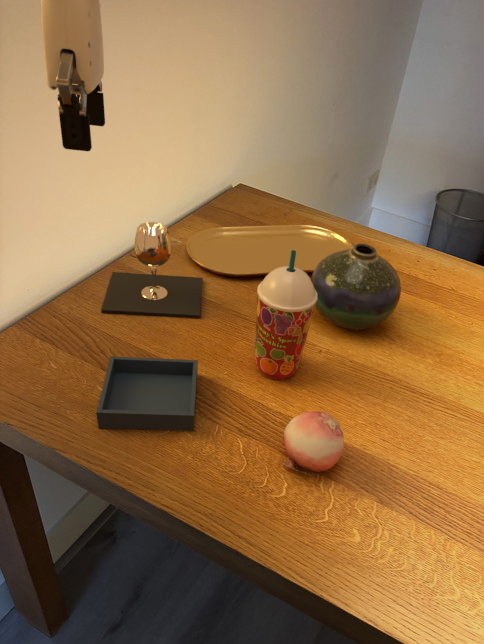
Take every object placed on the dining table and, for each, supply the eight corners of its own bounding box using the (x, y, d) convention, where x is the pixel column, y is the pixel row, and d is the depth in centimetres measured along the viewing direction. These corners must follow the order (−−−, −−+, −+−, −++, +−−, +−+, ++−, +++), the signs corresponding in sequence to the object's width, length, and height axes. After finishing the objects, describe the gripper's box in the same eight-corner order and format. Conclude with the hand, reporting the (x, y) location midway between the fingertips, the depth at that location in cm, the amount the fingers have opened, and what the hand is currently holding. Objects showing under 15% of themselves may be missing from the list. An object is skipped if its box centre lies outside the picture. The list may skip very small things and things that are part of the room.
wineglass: (132, 298, 92) (128, 233, 84) (144, 281, 96) (141, 218, 89) (165, 304, 92) (164, 240, 84) (175, 287, 96) (175, 224, 88)
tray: (98, 428, 70) (96, 412, 68) (112, 371, 79) (110, 356, 77) (194, 431, 72) (194, 415, 70) (197, 375, 80) (197, 359, 78)
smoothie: (240, 375, 81) (251, 256, 68) (260, 344, 88) (275, 230, 75) (292, 393, 80) (314, 274, 67) (309, 360, 86) (332, 246, 73)
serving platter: (178, 235, 112) (178, 228, 111) (334, 229, 123) (335, 223, 122) (196, 284, 99) (196, 276, 98) (368, 273, 110) (370, 266, 109)
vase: (293, 295, 100) (304, 228, 91) (368, 290, 105) (385, 225, 96) (324, 347, 89) (339, 276, 80) (406, 338, 94) (429, 271, 85)
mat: (101, 312, 89) (101, 309, 89) (112, 274, 98) (112, 271, 98) (200, 318, 91) (200, 315, 91) (202, 280, 100) (202, 277, 100)
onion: (347, 478, 69) (359, 440, 64) (289, 488, 67) (297, 449, 62) (325, 432, 75) (335, 394, 70) (271, 440, 72) (278, 401, 68)
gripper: (52, -43, 64) (69, 113, 75) (8, -30, 51) (36, 157, 61) (118, -33, 65) (125, 119, 76) (92, -17, 52) (105, 164, 63)
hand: (85, 136), depth 69 cm, fingers open, 9 cm apart
